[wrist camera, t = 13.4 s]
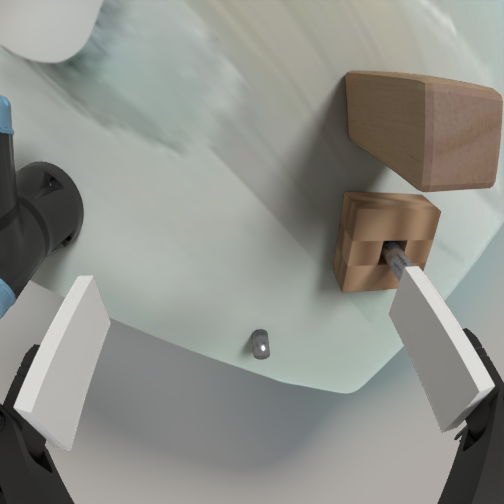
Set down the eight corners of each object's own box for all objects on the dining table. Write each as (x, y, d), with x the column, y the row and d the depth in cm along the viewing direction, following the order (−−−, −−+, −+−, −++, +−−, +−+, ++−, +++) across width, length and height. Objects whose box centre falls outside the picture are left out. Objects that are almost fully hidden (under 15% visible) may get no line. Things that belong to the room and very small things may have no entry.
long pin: (367, 241, 49) (402, 296, 37) (371, 224, 47) (409, 278, 36) (383, 240, 49) (420, 294, 37) (387, 224, 47) (427, 276, 36)
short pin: (252, 340, 60) (253, 359, 56) (252, 329, 58) (253, 349, 54) (267, 339, 60) (269, 359, 56) (267, 329, 59) (270, 349, 54)
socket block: (332, 269, 52) (342, 292, 47) (344, 191, 44) (357, 208, 39) (403, 266, 52) (417, 286, 47) (422, 194, 45) (441, 211, 40)
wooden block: (408, 138, 40) (497, 191, 23) (346, 140, 40) (419, 197, 23) (407, 73, 34) (506, 91, 17) (341, 70, 35) (423, 77, 18)
